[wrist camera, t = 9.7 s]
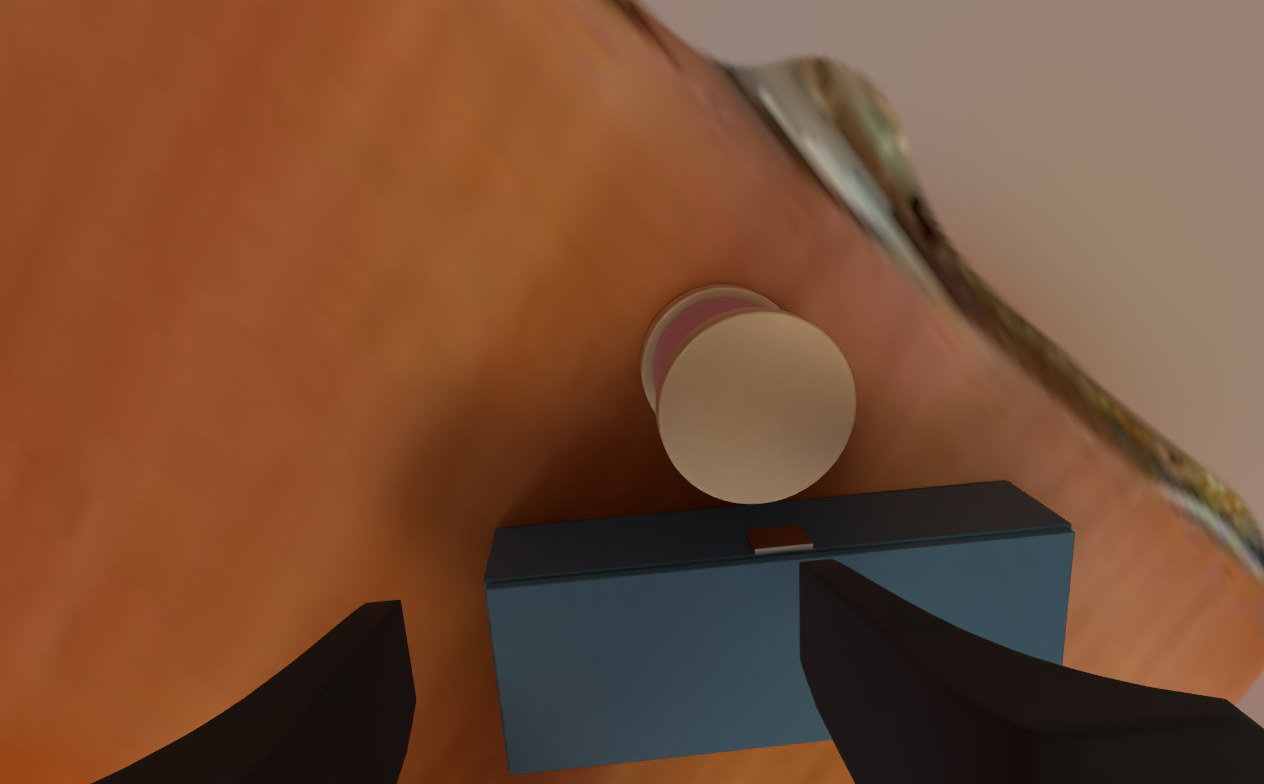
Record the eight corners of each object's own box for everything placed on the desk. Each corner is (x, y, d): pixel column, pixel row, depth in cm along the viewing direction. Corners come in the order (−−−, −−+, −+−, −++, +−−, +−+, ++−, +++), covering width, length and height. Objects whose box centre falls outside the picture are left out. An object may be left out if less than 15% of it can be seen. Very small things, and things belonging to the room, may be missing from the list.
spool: (796, 430, 23) (856, 496, 18) (644, 444, 23) (664, 513, 18) (795, 277, 22) (859, 303, 17) (634, 290, 21) (652, 319, 17)
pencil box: (1008, 475, 24) (1080, 523, 20) (996, 647, 25) (1061, 717, 22) (494, 523, 23) (481, 581, 20) (516, 698, 24) (506, 779, 21)
